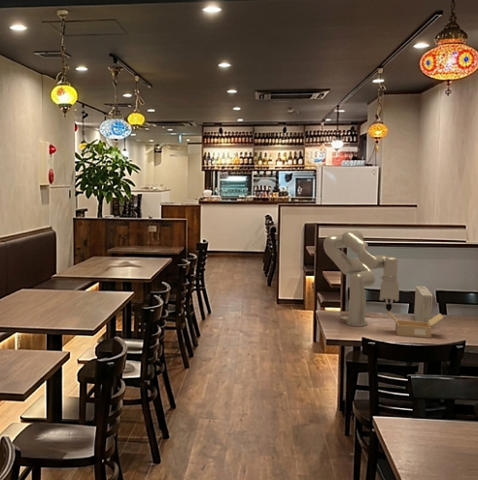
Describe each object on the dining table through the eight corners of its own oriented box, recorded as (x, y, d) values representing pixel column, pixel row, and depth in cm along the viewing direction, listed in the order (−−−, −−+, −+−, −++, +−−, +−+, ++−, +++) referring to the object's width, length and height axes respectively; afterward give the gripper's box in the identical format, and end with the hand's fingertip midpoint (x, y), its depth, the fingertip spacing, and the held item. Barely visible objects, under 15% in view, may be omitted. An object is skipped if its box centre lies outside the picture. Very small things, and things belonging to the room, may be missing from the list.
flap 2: (431, 325, 295) (443, 317, 293) (428, 320, 305) (440, 313, 303) (431, 326, 295) (443, 318, 293) (428, 321, 305) (440, 313, 303)
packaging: (430, 329, 315) (433, 295, 313) (420, 328, 316) (422, 295, 314) (423, 317, 344) (425, 286, 342) (413, 316, 345) (415, 285, 343)
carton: (397, 335, 298) (397, 325, 298) (395, 330, 310) (395, 319, 309) (430, 338, 295) (431, 327, 294) (427, 332, 307) (428, 322, 306)
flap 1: (397, 323, 298) (387, 313, 299) (395, 319, 309) (386, 309, 309) (398, 323, 298) (388, 312, 299) (396, 318, 309) (387, 308, 309)
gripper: (376, 279, 300) (375, 311, 301) (404, 280, 297) (402, 312, 298) (376, 277, 307) (374, 308, 309) (402, 278, 304) (401, 310, 306)
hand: (388, 310), depth 304 cm, fingers closed
